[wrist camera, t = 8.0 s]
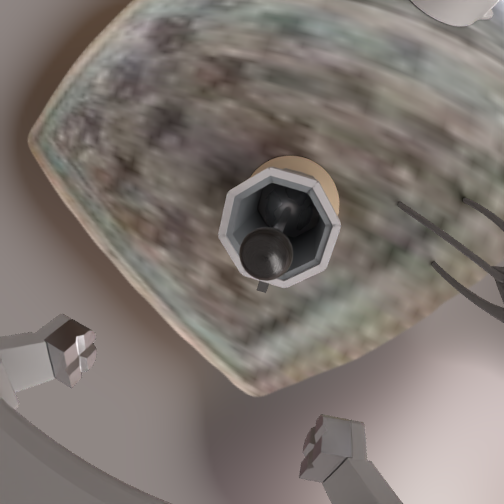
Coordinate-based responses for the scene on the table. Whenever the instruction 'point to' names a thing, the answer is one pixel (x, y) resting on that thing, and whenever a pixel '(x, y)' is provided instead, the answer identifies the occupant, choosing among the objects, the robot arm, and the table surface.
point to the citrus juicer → (499, 273)
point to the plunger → (276, 234)
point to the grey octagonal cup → (304, 242)
